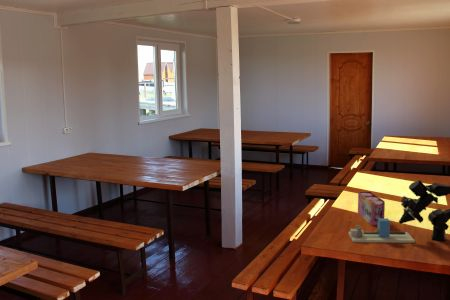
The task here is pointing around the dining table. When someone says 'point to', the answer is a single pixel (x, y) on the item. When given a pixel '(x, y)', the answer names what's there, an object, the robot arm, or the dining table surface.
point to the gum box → (370, 207)
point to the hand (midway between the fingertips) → (399, 223)
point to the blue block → (383, 227)
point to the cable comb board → (394, 237)
